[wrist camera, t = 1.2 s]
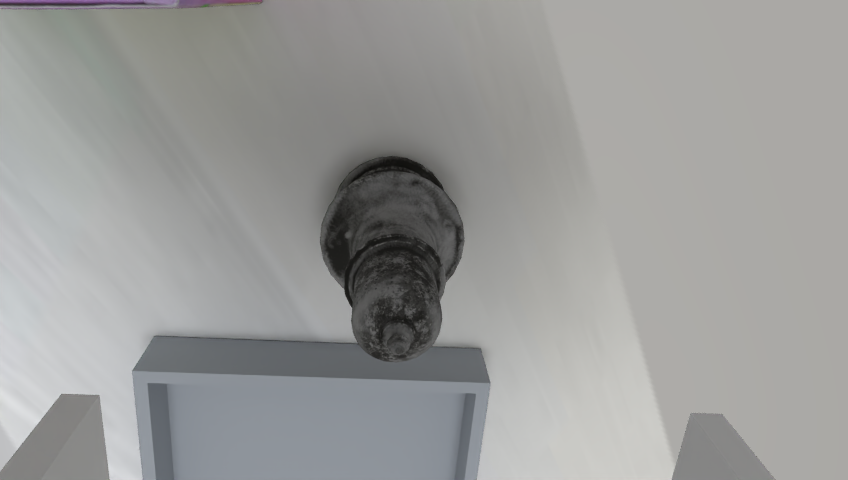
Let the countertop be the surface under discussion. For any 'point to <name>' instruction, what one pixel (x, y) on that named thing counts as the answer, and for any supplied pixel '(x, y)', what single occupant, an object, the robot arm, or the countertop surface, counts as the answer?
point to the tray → (307, 411)
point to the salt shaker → (393, 254)
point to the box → (118, 4)
